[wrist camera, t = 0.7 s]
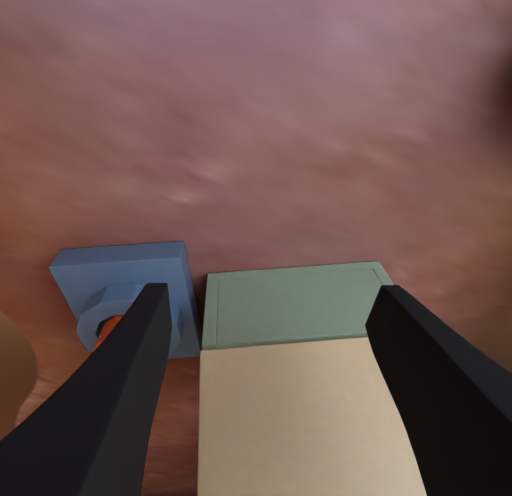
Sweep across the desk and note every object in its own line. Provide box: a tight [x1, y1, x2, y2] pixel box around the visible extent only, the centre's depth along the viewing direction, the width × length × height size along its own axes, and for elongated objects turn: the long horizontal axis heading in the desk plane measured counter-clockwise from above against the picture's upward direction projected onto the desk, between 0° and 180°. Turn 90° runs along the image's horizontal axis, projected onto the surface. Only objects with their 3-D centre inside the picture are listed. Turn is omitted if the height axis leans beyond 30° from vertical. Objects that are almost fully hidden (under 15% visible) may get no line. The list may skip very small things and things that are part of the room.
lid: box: [197, 337, 427, 496], centre depth 14 cm, size 11×13×1 cm
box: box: [202, 261, 394, 350], centre depth 23 cm, size 10×13×6 cm
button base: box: [49, 241, 203, 359], centre depth 22 cm, size 10×8×4 cm
